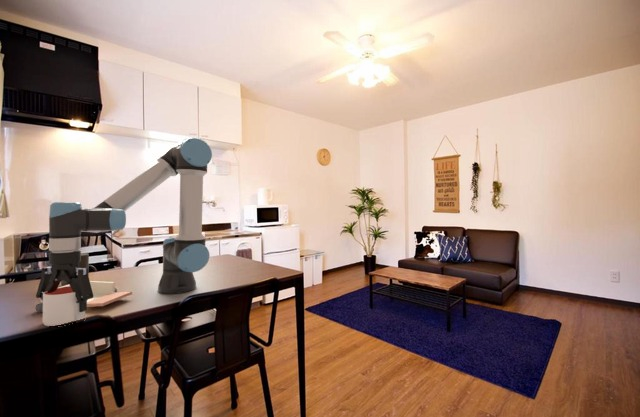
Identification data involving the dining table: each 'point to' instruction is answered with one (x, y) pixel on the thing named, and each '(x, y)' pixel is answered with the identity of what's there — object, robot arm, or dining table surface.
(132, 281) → the dining table surface
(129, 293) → the panel
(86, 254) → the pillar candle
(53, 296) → the cup
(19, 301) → the dining table surface
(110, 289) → the truck bed
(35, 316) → the dining table surface
